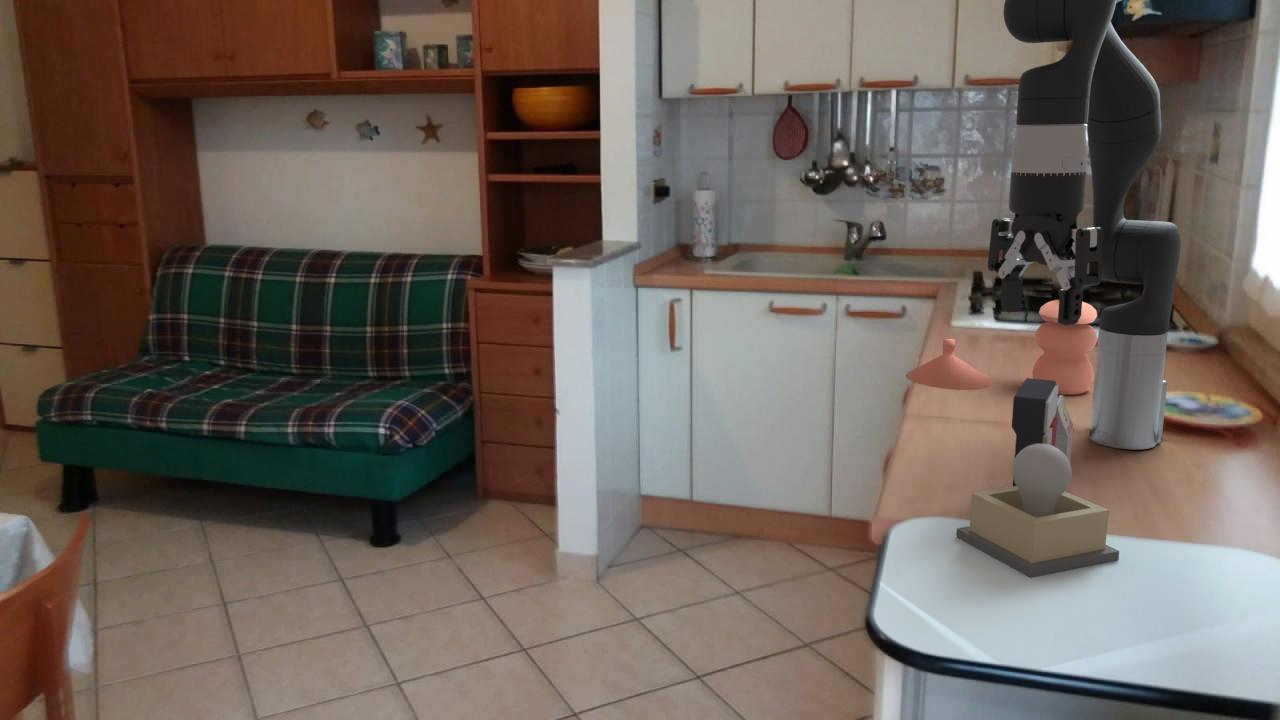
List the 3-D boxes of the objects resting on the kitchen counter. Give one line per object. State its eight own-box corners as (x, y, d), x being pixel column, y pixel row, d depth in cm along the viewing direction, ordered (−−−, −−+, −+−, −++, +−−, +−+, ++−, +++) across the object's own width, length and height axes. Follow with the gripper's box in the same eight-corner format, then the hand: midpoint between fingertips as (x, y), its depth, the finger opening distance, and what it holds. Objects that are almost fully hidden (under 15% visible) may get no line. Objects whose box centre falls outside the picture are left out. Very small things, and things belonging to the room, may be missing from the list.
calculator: (1042, 522, 122) (1052, 400, 118) (1004, 516, 124) (1013, 396, 120) (1053, 494, 131) (1062, 380, 128) (1018, 489, 133) (1026, 377, 130)
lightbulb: (1070, 551, 110) (1078, 454, 108) (1010, 547, 112) (1017, 451, 109) (1060, 531, 116) (1068, 438, 114) (1003, 527, 118) (1010, 435, 115)
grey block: (1035, 475, 138) (1040, 404, 136) (1041, 461, 144) (1046, 393, 142) (1064, 479, 137) (1070, 407, 134) (1069, 465, 142) (1075, 395, 140)
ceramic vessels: (882, 398, 180) (887, 292, 176) (891, 372, 199) (895, 276, 195) (1098, 412, 169) (1109, 300, 165) (1085, 383, 189) (1094, 282, 185)
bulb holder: (1038, 521, 122) (1042, 477, 121) (1118, 559, 111) (1123, 511, 110) (956, 536, 117) (959, 491, 116) (1030, 577, 107) (1034, 527, 105)
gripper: (1129, 169, 104) (1115, 325, 108) (1027, 164, 117) (1019, 304, 120) (1072, 172, 101) (1060, 332, 105) (975, 167, 114) (967, 310, 118)
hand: (1038, 317), depth 113 cm, fingers open, 8 cm apart
